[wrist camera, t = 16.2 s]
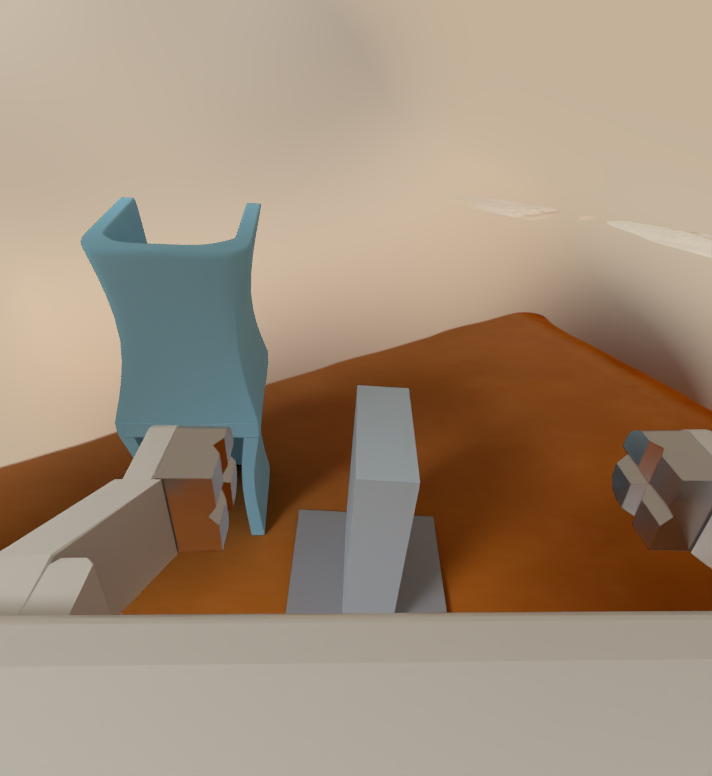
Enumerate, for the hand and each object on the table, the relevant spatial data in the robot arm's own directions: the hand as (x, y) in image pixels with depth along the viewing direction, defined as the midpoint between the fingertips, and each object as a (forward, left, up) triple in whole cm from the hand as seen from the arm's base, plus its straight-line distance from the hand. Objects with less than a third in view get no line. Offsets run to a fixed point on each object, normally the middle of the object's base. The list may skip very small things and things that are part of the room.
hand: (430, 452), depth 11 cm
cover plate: (+1, +17, -29) cm, 33 cm away
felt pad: (+1, +17, -29) cm, 34 cm away
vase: (-13, +25, -30) cm, 41 cm away
